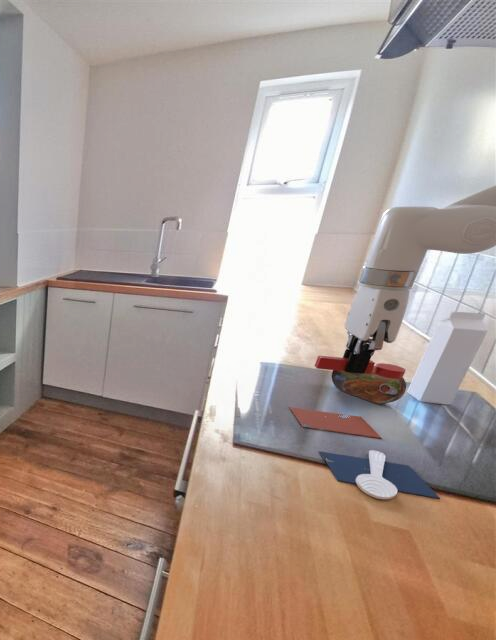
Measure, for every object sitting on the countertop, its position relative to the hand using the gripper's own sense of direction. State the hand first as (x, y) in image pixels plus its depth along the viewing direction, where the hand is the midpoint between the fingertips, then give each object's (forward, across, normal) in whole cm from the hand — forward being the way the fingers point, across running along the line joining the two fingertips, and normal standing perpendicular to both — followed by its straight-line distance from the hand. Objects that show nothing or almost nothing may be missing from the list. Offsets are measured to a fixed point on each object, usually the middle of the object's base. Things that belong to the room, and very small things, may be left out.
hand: (351, 369), depth 84 cm
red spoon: (0, 0, -1) cm, 1 cm away
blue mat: (+14, -16, -2) cm, 21 cm away
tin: (+14, +23, -14) cm, 31 cm away
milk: (+14, +27, -29) cm, 42 cm away
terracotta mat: (+14, +4, -2) cm, 15 cm away
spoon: (+14, -16, -2) cm, 22 cm away
